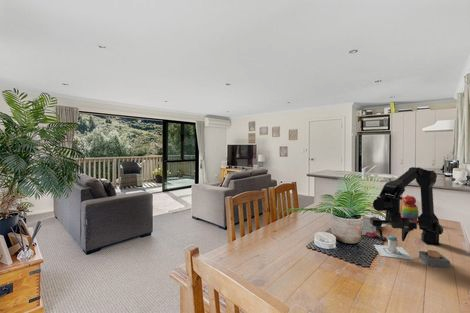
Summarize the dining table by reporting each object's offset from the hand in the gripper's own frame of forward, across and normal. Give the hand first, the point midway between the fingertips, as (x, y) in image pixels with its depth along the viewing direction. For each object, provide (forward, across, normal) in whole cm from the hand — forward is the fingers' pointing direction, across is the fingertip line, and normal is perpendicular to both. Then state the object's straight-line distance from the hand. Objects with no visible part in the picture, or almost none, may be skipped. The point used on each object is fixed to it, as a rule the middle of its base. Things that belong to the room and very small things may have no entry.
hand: (392, 240), depth 115 cm
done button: (+4, +14, -7) cm, 16 cm away
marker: (+6, 0, 0) cm, 6 cm away
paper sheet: (+6, 0, 0) cm, 6 cm away
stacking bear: (+6, +29, +57) cm, 64 cm away
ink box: (+6, -6, +22) cm, 24 cm away
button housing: (+6, +14, -7) cm, 17 cm away
